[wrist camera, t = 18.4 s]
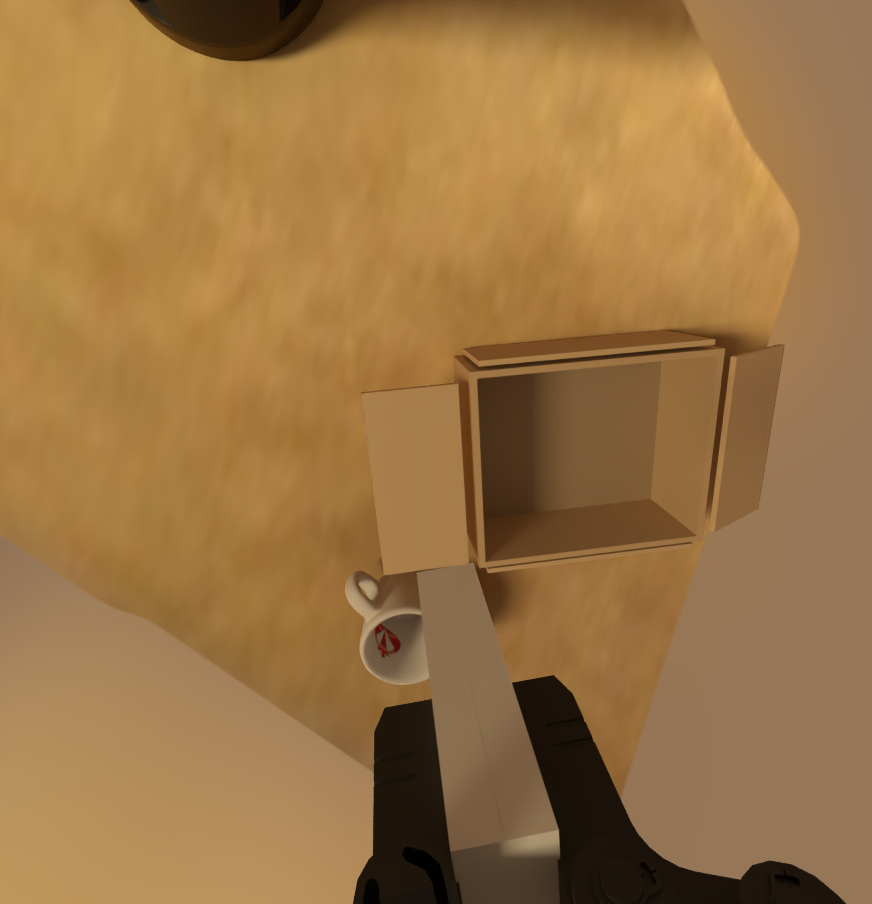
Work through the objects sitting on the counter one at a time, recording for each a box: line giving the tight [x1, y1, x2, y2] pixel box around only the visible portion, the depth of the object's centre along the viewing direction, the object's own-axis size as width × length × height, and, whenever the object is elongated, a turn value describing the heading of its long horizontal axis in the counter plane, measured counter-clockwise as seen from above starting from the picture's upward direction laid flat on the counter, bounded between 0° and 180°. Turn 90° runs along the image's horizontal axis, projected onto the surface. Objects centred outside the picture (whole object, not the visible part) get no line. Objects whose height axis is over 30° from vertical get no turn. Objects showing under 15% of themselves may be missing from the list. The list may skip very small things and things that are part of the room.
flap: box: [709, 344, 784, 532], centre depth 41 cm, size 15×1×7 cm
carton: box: [454, 330, 725, 573], centre depth 42 cm, size 17×19×8 cm
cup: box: [345, 571, 429, 685], centre depth 45 cm, size 11×8×8 cm
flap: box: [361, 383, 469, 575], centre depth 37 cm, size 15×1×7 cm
